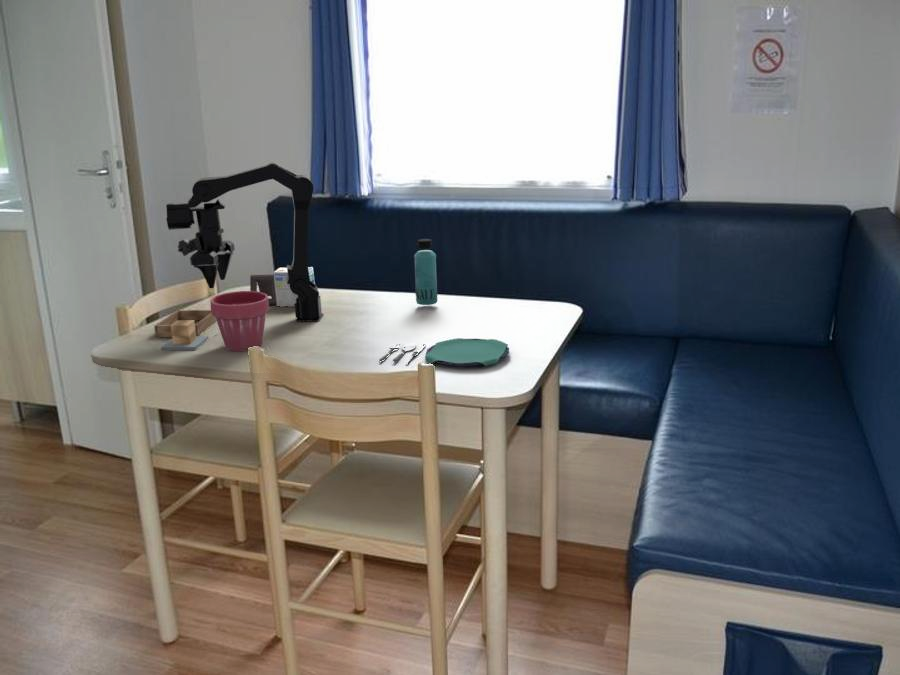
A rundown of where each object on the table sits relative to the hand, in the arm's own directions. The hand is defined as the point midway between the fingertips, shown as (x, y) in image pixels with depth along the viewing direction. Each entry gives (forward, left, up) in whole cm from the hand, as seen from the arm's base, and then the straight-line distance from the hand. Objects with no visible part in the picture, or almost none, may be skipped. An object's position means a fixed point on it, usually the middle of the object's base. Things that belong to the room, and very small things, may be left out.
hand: (217, 283), depth 223 cm
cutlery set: (-64, +25, -13) cm, 70 cm away
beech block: (+4, +16, -11) cm, 20 cm away
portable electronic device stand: (-5, -25, -12) cm, 28 cm away
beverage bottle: (-55, -18, -12) cm, 59 cm away
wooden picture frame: (+9, +1, -12) cm, 15 cm away
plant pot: (-12, +17, -12) cm, 24 cm away
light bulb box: (-15, -23, -12) cm, 30 cm away
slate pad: (+4, +16, -12) cm, 20 cm away
